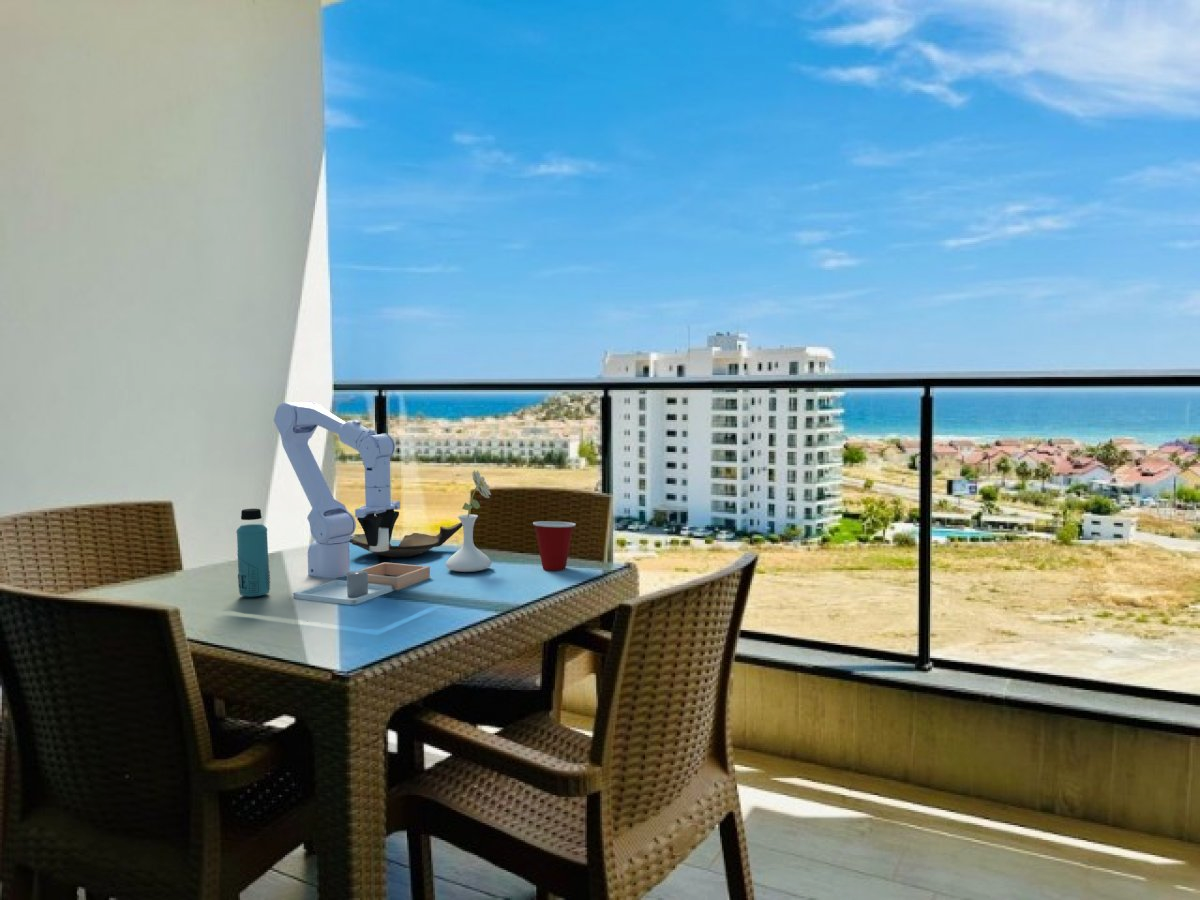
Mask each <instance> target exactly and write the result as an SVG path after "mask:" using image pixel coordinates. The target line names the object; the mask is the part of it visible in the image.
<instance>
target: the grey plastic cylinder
mask: <svg viewBox="0 0 1200 900" xmlns="http://www.w3.org/2000/svg"><path fill="white" fill-rule="evenodd" d="M346 581H347V596H348V597H350V598H358V597H360V596H363V595H366V594H368V572H367V571H358V570H352V571H351V570H350V572H348V573H347V576H346Z"/></svg>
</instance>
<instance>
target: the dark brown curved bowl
mask: <svg viewBox="0 0 1200 900" xmlns="http://www.w3.org/2000/svg"><path fill="white" fill-rule="evenodd" d="M461 528H463V526H462V523H461V522H459V523H456V524H454V525H452V526H449V527H446V526H442V525H441V526H440V527H439V533H438V534H437V535H430V534H427V533H426V534H425V533H420V532H412V533H411V534H406V535H405V534H404V537H402V540H401V541H400V543H399V544H398V545H392V544H391V543H390V542H391V541H390V542H389V550H388V551H382V552H372V551H370V546H368V543H367V540H366V536H365V533H362V534H358V535H356V536H354V537H352V538H351V539H350V540H349V544H352V545H353V546H356V547H359V548H361V549H364V551H365V550H366V551H368V552H370V553H374V554H376V555H380V556H383V557H390V558H409V557H413V556H417V555H419V554H423V553H425V552H427V551H429V550H432V549H433V548H438V547H442V545H444V544H445V543H446V542H447V541H448V540H449V539H450V538H451V537H452V536H453V535H454V534H455V533H457V532H458V531H459V530H460V529H461Z"/></svg>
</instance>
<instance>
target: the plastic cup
mask: <svg viewBox="0 0 1200 900" xmlns="http://www.w3.org/2000/svg"><path fill="white" fill-rule="evenodd" d="M532 524H533V527H534V529H535V534H536V539H537V545H538V551H539V556H540V561H541V566H542V569H544V571H546V570H548V572H557V571H556V570H561V571H564V570H565V569H566V568H567V562H568V557H569V552H570V548H571V547H570V546H571V541H572V540H571V539H572V536H573V531H574V528H575V527H576V525H577V524H576V522H575V523H574V522H571V521H570V522H569V521H555V520H554V521H553V520H552V521H551V520H550V521H549V520H547V521H546V520H545V521H533V522H532ZM563 569H564V570H563Z"/></svg>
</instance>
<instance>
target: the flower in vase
mask: <svg viewBox="0 0 1200 900" xmlns="http://www.w3.org/2000/svg"><path fill="white" fill-rule="evenodd" d="M472 480H473V482H474V485H475V488H474V490H473V493H472V495H471V498H470V502H469V504H468V503H467V502H464V504H463V506H462V510H465V511H468V512H467V514H466V513H465V514H459V515H457V518H458V519H459V521H460V523H462V531H463V542H462V546H461V547H460V548H459V549H458V550H457V551H456V552H454V553H453V554H452V555H451V556H449V558H448V559H447V560H446V563H445V566H446V568H447V569H449V570H451V571H454V572H460V573H473V572H479V571H484V570H486V569H488V568H490V567H491V565H492V561H491V559H490V557H488V556H487V554H485V553H484V552H482V551H481V550H480V549H478V548H477V547H476V545H475V544H474V538H473V537H474V536H473V535H474V526H475V522H476V520H477V519H478V517H479V515H478V514H471V513H470V512H471V509H472V508H474V509H476V510H478V509H480V507H481V505H480V503H479V501H477V499H474V495H475V493H476V491H477V490H478V492H479V494H480V496H483V497H484V498H486V499H490V496H492V493H491V491H490V486H489V485H488V484H487V482H486V481H485V477H484V476H481V474H480V472H479V470H475V469H474V470H473V471H472ZM489 495H490V496H489Z"/></svg>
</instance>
